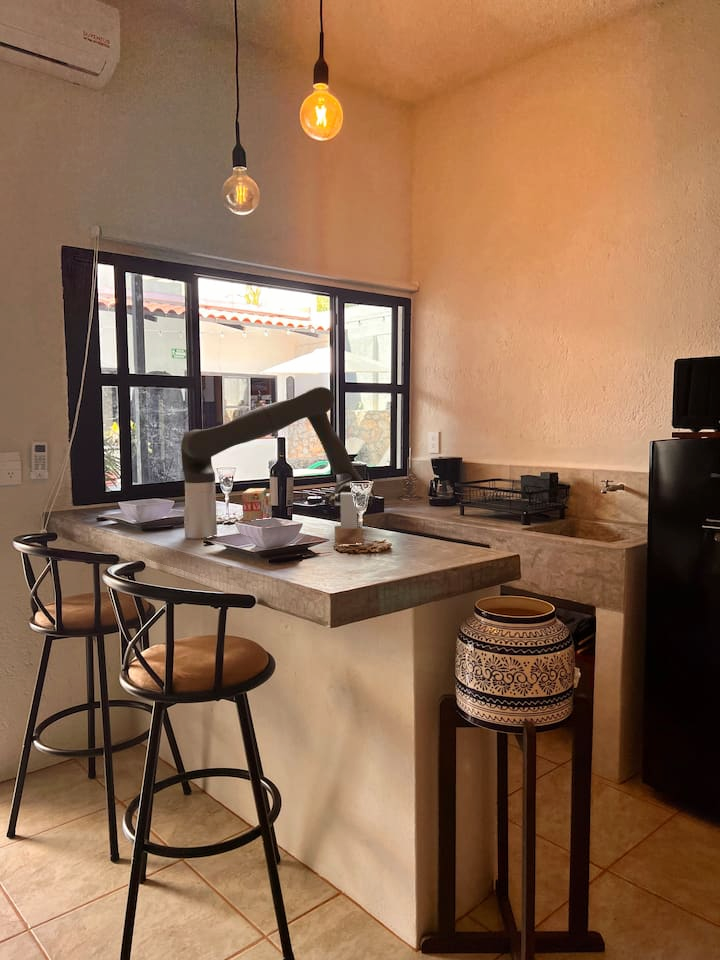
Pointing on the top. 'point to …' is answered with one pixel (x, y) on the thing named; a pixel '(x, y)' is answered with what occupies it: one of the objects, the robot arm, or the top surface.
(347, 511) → the tall grey block
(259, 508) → the tan printed box
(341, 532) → the walnut base block
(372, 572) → the top surface
